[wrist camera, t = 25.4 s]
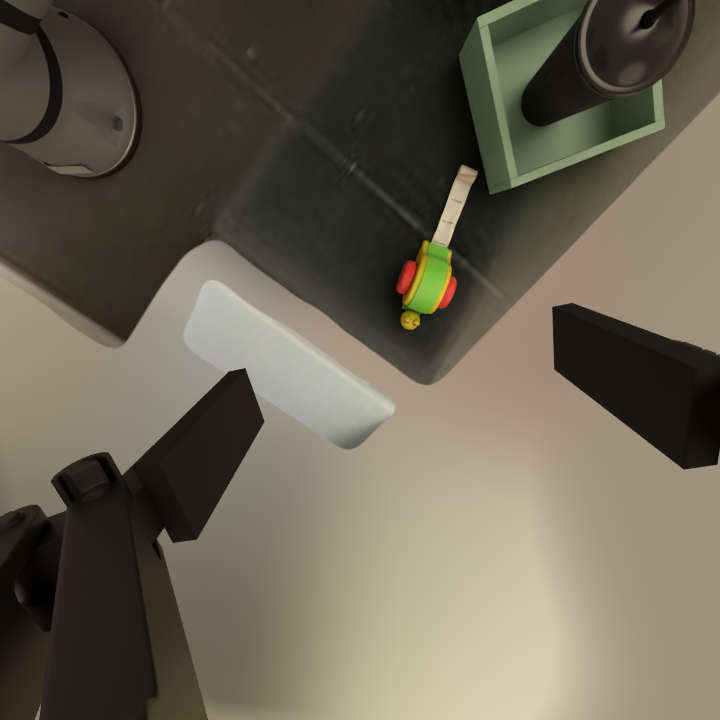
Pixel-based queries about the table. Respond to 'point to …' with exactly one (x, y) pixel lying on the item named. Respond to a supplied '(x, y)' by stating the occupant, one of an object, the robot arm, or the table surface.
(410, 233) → the table surface
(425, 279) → the toy measuring tape
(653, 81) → the drinking cup
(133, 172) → the table surface
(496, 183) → the tote
